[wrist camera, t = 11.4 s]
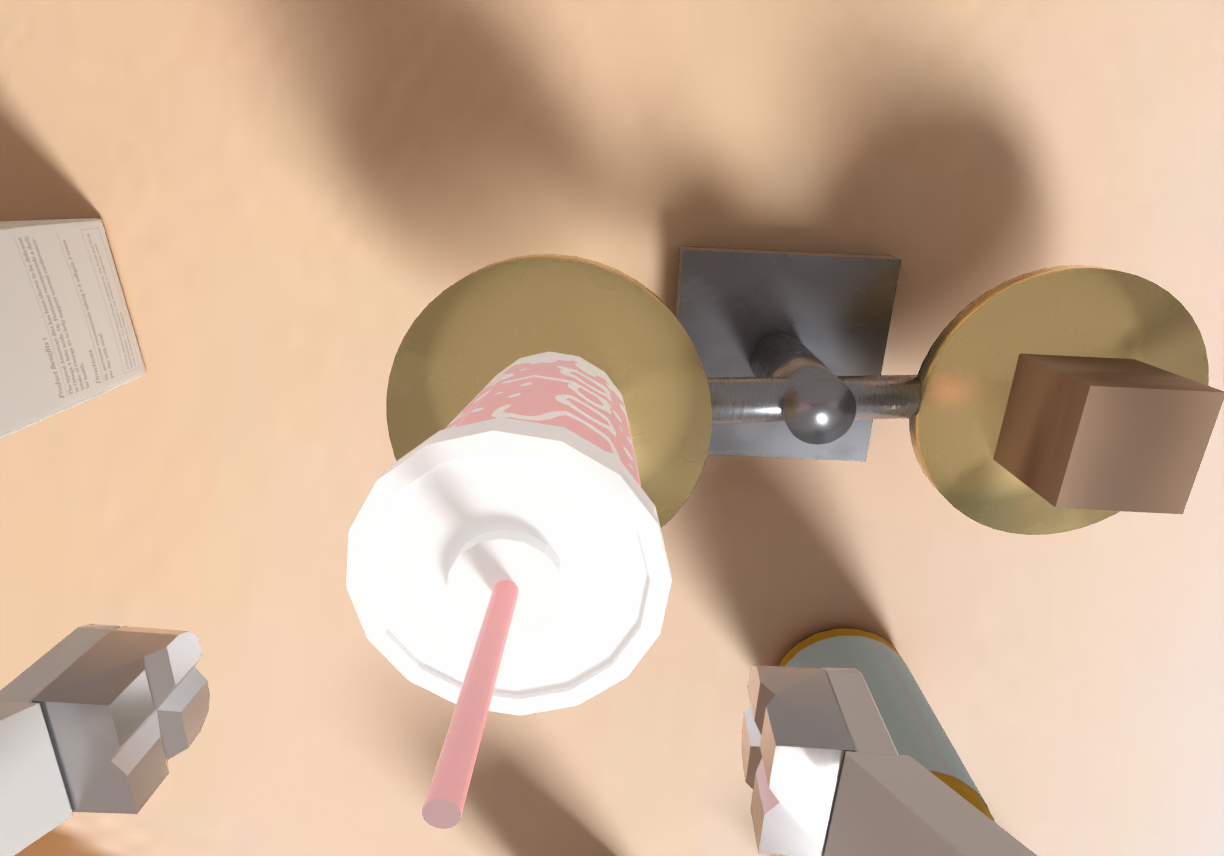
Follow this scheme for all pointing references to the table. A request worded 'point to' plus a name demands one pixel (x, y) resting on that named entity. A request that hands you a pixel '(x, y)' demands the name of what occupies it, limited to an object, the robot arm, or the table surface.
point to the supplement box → (60, 320)
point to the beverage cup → (512, 557)
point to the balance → (785, 361)
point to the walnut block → (1106, 432)
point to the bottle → (891, 701)
